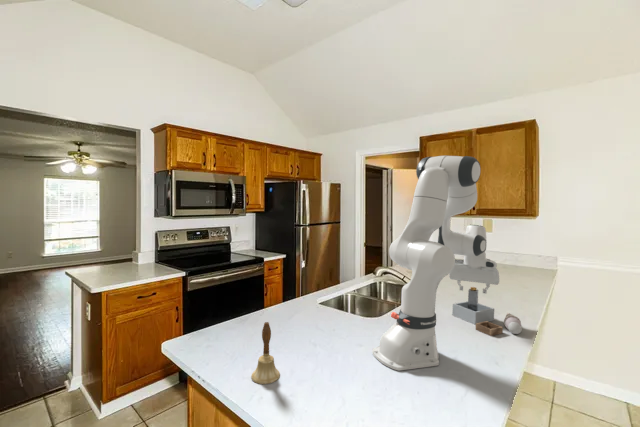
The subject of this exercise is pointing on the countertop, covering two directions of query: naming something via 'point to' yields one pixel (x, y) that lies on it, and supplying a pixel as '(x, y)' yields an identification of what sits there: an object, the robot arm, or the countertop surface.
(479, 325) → the socket ring
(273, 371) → the hand bell
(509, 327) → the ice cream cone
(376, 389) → the countertop surface
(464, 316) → the tub
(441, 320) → the countertop surface
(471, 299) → the strut
